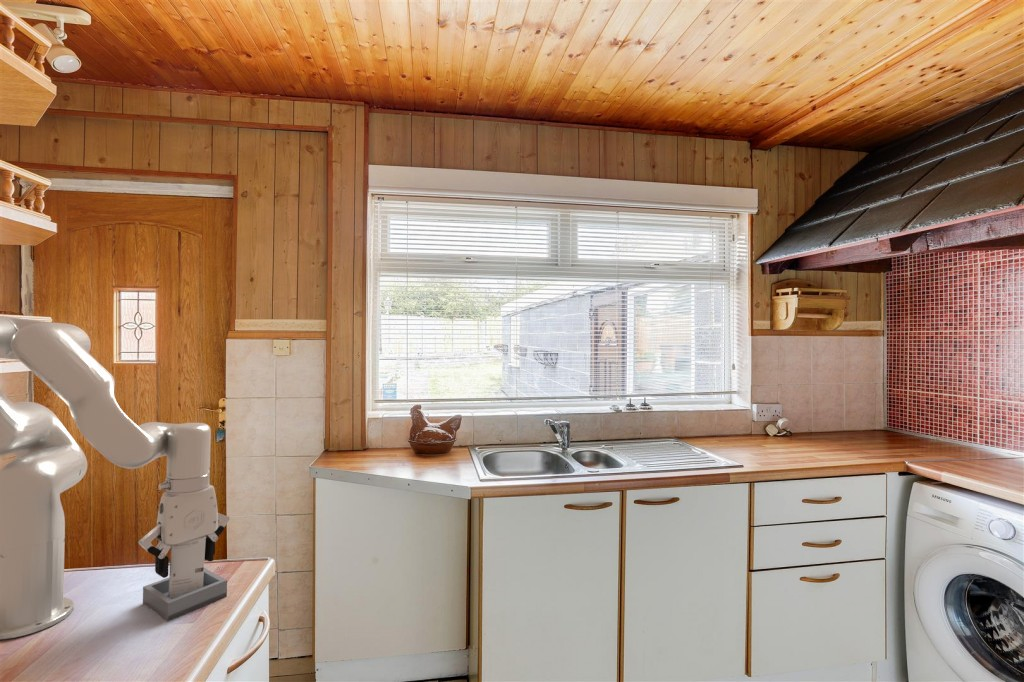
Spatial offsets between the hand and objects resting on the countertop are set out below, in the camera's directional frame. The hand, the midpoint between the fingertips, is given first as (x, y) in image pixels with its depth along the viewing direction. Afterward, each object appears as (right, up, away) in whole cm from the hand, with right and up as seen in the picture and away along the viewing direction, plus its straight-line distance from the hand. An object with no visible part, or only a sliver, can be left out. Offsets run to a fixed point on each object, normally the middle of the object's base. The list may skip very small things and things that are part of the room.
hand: (186, 566), depth 100 cm
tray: (0, -7, 0) cm, 7 cm away
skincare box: (0, -6, 0) cm, 6 cm away
